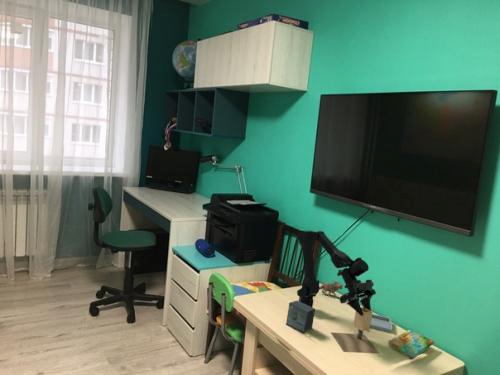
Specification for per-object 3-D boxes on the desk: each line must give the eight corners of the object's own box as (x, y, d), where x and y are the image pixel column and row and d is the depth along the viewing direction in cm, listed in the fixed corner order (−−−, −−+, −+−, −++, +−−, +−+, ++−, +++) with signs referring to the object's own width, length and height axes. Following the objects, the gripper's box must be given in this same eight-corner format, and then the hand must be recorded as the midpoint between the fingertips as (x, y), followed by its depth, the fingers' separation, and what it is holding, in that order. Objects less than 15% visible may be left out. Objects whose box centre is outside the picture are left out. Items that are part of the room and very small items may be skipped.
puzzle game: (389, 339, 175) (408, 328, 189) (387, 349, 176) (407, 337, 190) (415, 351, 167) (434, 339, 181) (413, 362, 168) (432, 349, 182)
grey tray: (360, 327, 194) (361, 322, 193) (361, 316, 207) (362, 311, 207) (391, 335, 190) (392, 330, 189) (390, 323, 203) (390, 318, 203)
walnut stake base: (343, 353, 166) (345, 342, 166) (329, 334, 182) (331, 323, 181) (379, 355, 169) (381, 344, 168) (363, 336, 184) (365, 325, 184)
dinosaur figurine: (341, 295, 232) (343, 280, 230) (340, 299, 226) (343, 283, 225) (317, 290, 235) (319, 274, 234) (315, 293, 229) (318, 278, 228)
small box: (312, 330, 184) (316, 308, 182) (304, 334, 179) (307, 311, 177) (293, 321, 191) (297, 299, 189) (285, 324, 186) (288, 302, 184)
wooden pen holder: (353, 325, 180) (356, 308, 179) (360, 323, 183) (363, 307, 182) (365, 332, 174) (368, 315, 173) (372, 330, 177) (375, 313, 176)
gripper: (349, 275, 174) (365, 310, 166) (376, 271, 185) (393, 304, 178) (332, 286, 181) (347, 320, 174) (359, 281, 192) (374, 314, 185)
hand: (366, 314), depth 177 cm, fingers closed on wooden pen holder, 5 cm apart
